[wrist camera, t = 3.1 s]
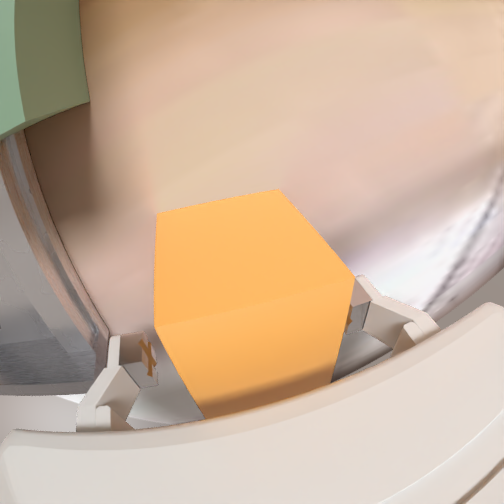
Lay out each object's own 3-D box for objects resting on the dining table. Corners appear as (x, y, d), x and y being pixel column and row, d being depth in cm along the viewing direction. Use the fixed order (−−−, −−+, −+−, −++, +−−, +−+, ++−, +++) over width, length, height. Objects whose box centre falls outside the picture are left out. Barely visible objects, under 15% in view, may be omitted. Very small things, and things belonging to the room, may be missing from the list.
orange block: (277, 188, 12) (355, 277, 7) (282, 318, 16) (322, 406, 12) (157, 212, 11) (154, 327, 6) (197, 339, 16) (217, 436, 11)
